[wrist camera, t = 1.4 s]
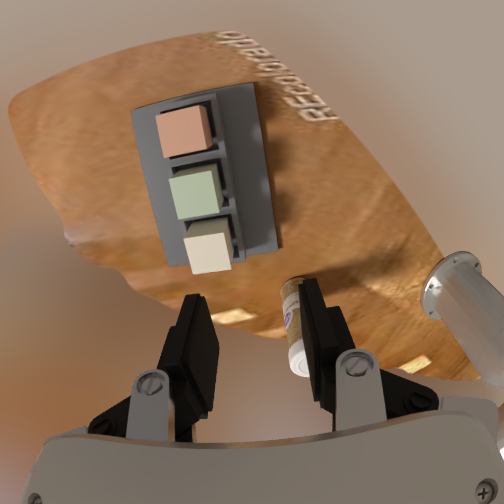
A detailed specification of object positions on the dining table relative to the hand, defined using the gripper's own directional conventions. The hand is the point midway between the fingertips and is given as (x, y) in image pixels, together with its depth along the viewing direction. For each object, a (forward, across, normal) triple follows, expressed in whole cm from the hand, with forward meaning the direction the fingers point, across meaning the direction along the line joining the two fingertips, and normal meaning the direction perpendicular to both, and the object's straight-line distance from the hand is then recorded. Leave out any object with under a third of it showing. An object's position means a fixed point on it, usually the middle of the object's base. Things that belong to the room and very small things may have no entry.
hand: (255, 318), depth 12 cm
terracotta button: (+21, +5, -8) cm, 23 cm away
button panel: (+23, +5, -2) cm, 24 cm away
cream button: (+21, +5, +4) cm, 22 cm away
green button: (+21, +5, -2) cm, 21 cm away
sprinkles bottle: (+23, -4, +15) cm, 28 cm away
